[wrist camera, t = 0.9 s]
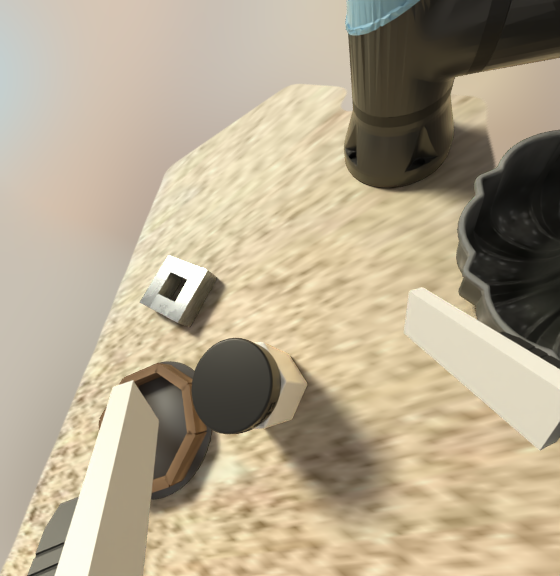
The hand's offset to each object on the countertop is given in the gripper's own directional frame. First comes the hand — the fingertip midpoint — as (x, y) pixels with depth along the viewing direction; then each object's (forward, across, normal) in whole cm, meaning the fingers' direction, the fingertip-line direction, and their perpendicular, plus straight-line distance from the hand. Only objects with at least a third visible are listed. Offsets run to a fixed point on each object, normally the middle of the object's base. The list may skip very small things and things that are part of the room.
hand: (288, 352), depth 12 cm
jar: (+14, 0, -19) cm, 24 cm away
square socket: (+32, -9, -12) cm, 36 cm away
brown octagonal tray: (+18, -16, -24) cm, 34 cm away
